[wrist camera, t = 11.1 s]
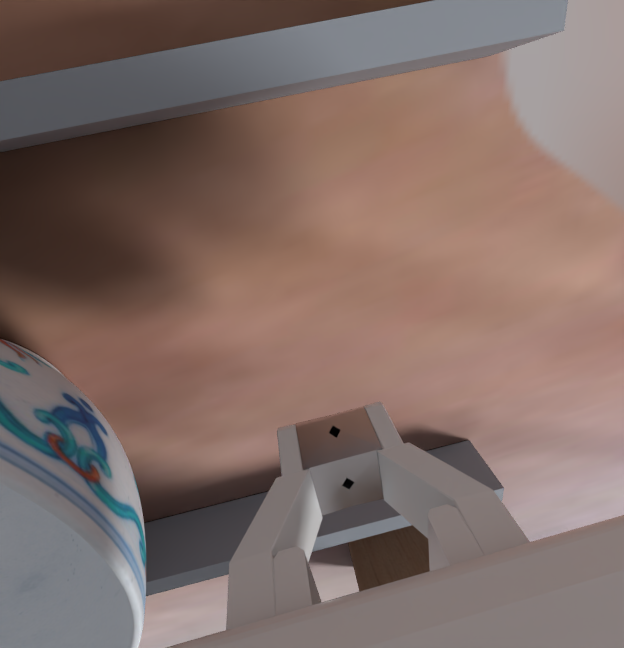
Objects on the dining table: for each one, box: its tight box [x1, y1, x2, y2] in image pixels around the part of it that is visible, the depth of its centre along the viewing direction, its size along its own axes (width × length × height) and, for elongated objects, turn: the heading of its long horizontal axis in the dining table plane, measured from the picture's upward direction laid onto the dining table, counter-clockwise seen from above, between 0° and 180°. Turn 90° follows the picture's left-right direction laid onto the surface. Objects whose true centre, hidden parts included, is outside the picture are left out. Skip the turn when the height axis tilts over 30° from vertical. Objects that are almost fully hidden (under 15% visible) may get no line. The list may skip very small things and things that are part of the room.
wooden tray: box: [0, 0, 568, 596], centre depth 12 cm, size 29×19×5 cm, turn 100°
